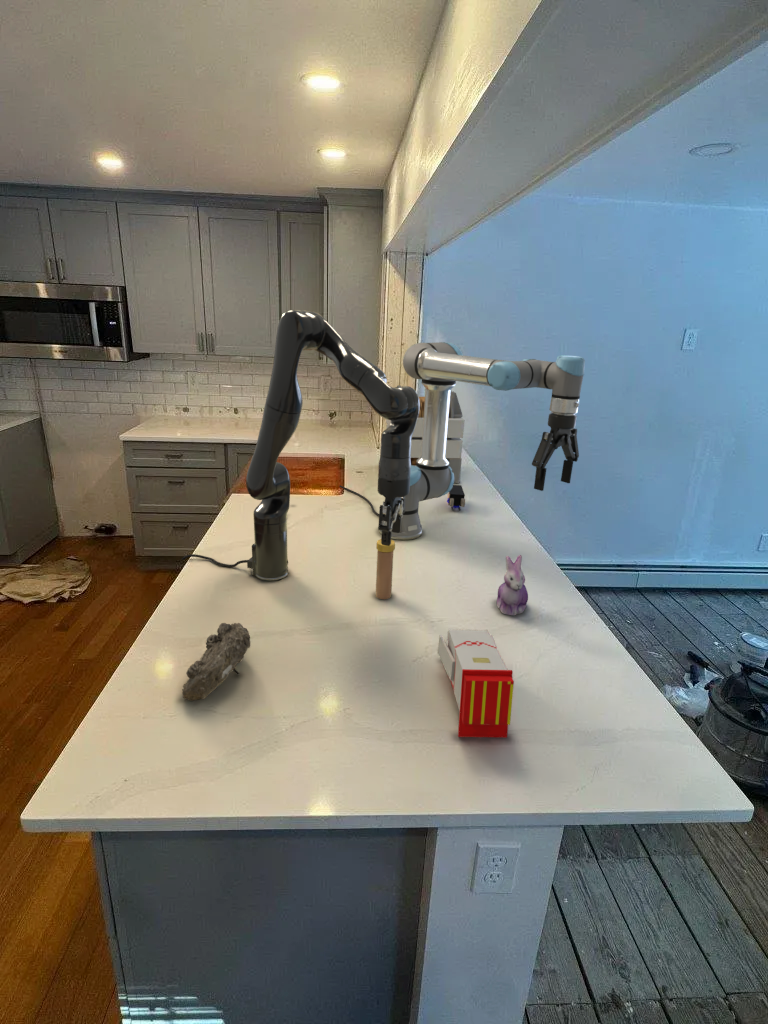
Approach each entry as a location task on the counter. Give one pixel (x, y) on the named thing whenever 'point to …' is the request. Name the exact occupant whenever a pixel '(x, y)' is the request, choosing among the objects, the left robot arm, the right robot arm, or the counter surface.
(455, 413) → the white storage crate
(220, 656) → the fossil
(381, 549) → the lid
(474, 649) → the toy
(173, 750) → the counter surface
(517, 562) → the figurine
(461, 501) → the figurine character
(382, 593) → the jar
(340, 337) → the left robot arm
